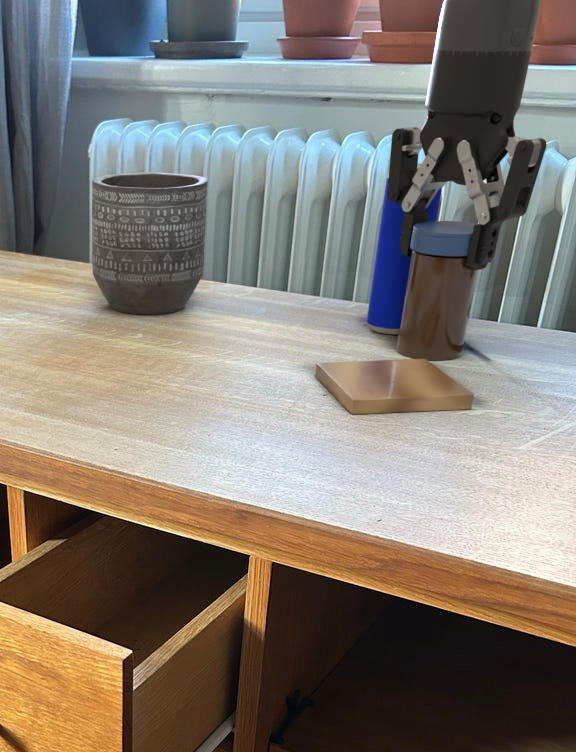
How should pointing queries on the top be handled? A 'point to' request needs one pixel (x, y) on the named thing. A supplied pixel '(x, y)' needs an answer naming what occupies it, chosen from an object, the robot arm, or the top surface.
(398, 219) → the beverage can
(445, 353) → the jar
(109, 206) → the planter
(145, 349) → the top surface
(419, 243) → the jar lid
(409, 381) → the plate
